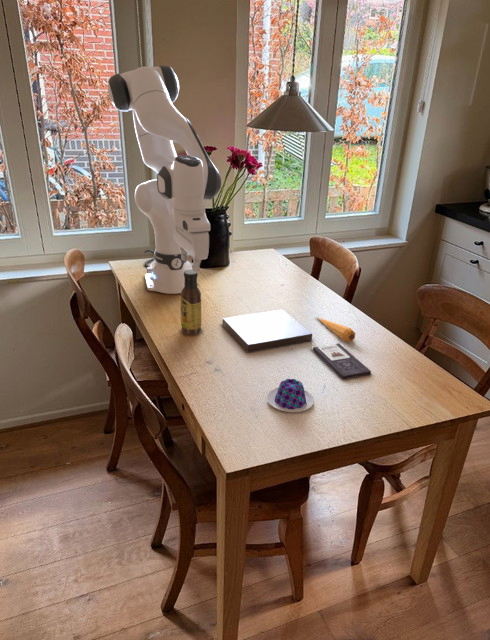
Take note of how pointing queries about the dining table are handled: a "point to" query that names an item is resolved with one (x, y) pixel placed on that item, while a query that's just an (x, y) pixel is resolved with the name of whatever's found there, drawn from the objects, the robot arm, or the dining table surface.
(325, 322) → the carrot
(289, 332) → the walnut board
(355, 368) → the chocolate bar
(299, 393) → the pudding
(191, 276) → the sauce bottle
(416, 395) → the dining table surface
